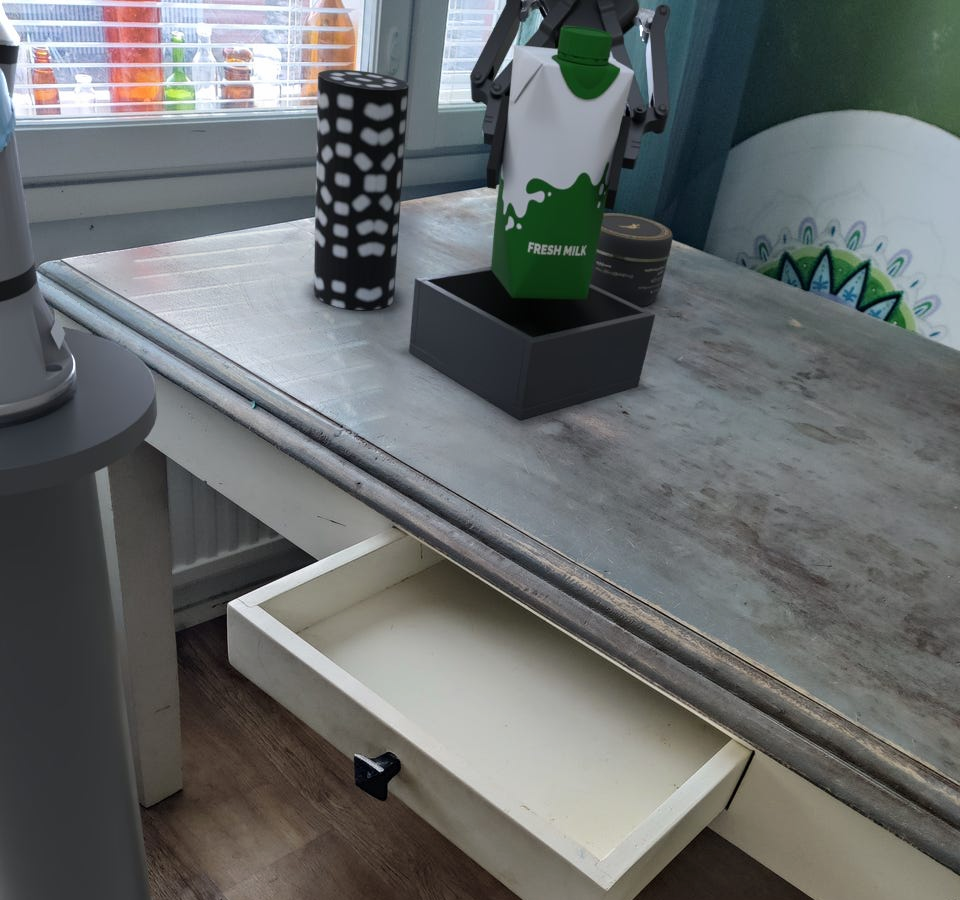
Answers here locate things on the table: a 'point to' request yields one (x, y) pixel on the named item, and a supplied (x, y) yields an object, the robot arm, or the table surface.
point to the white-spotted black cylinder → (358, 187)
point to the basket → (527, 342)
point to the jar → (631, 257)
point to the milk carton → (557, 164)
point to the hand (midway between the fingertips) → (550, 189)
